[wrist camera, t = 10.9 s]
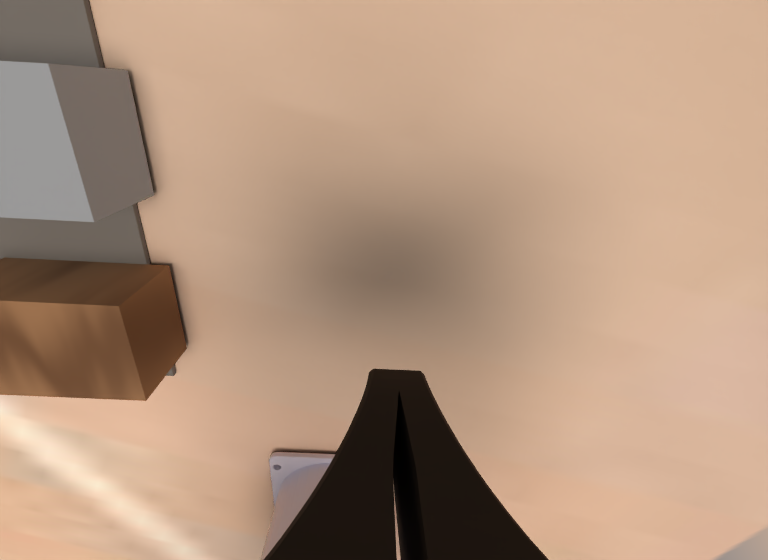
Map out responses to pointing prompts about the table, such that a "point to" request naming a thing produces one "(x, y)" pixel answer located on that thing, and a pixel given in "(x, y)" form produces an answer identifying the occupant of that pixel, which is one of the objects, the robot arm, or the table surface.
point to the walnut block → (86, 328)
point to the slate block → (69, 143)
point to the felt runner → (77, 48)
